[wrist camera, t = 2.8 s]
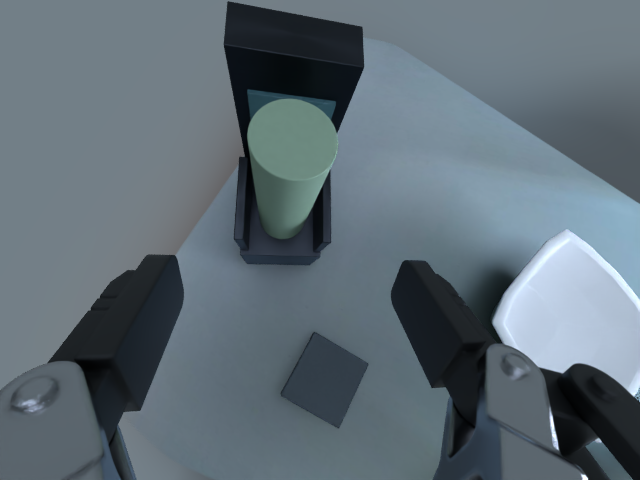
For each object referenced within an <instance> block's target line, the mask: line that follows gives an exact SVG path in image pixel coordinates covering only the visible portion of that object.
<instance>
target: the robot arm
mask: <svg viewBox="0 0 640 480" xmlns="http://www.w3.org/2000/svg"><path fill="white" fill-rule="evenodd" d="M458 295H459V294H458V293H457V292H456V291H455V289H454V288H453V287H452V285H451V284H450V283H449V282H447V281H446V280H445V279H444V278H442V277H441V276H440V275H438V274H435V272H434V271H433V270H432V268H431V267H430V266H429V264H428V263H427V262H426V261H419V260H405V261H403V262H402V264H401V266H400V269H399V272H398V274H397V277H396V279H395V282H394V285H393V287H392V290H391V301H392V305H393V307H394V309H395V311H396V313H397V316H398V318H399V320H400V322H401V324H402V326H403V328H404V330H405V332H406V335H407V337H408V339H409V341H410V343H411V345H412V347H413V349H414V351H415V354H416V356H417V358H418V360H419V362H420V364H421V366H422V368H423V370H424V373H425V375H426V377H427V379H428V381H429V383H430V385H431V387H432V388H440V387H446V388H447V390H448V392H449V394H450V397H449V399H448V404H447V411H446V419H445V427H444V434H443V442H442V450H441V457H440V462H439V466H438V468H437V471H436V473H435V475H434V477H433V480H610V478H609V477H608V476H607V475H606V473H605V472H604V471H603V469H602V468H601V467H600V465H599V464H598V463H597V461H596V460H595V459H594V457H593V456H592V455H591V453H590V452H589V451H588V450H587V448H586V447H585V446H586V445H588V444H590V443H591V442H593V441H595V440H596V439H598V438H599V439H600V440H601V441H602V442H603V443H604V445H605V446H606V447H607V448H608V450H609V451H610V452H611V453H612V455H613V456H614V457H615V458H616V459H617V461H618V462H619V463H620V464H621V466H622V467H623V468H624V469H625V470H626V472H627V473H628V474H629V475H630V477H631V478H632V479H633V480H640V402H639V401H638V400H637V399H636V398H634V397H633V396H632V395H631V394H630V393H629V392H628V391H627V390H626V389H625V388H624V387H623V386H622V385H621V384H620V383H619V382H617V381H616V380H615V379H613V378H612V377H611V376H609V375H608V374H606V373H604V372H603V371H601V370H599V369H597V368H595V367H593V366H590V365H587V364H582V363H575V364H573V365H572V366H571V367H569V368H568V369H567V370H566V371H565V372H564V373H559V372H556V371H552V370H548V369H544V368H540V367H538V366H537V365H536V364H535V363H534V362H533V361H532V360H531V359H530V358H529V357H528V356H526V355H525V354H524V353H522V352H521V351H519V350H517V349H515V348H513V347H511V346H508V345H505V344H497V343H496V341H495V340H494V339H493V338H492V336H491V335H490V334H489V333H488V331H487V330H486V329H485V327H484V326H483V325H482V324H481V322H480V321H479V320H478V319H477V317H476V316H475V315H474V313H473V312H472V311H471V310H470V308H469V307H468V306H466V303H465V302H464V301H463V299H462V298H461V297H459V296H458ZM183 300H184V289H183V284H182V279H181V275H180V270H179V265H178V261H177V258H176V256H175V255H147V256H146V257H145V258H144V259H143V261H142V262H141V264H140V265H139V266H138V268H137V269H136V270H127V271H126V272H124V273H123V274H122V275H120V276H119V277H117V278H116V279H114V280H113V281H111V282H110V284H109V285H108V286H107V287H106V289H105V290H104V292H103V293H102V294H101V295H100V299H97V300H96V301H95V303H94V304H93V305H92V307H91V310H90V311H88V312H87V313H86V314H85V316H84V317H83V318H82V319H81V321H80V322H79V324H78V325H77V326H76V327H75V328H74V330H73V331H72V332H71V334H70V335H69V336H68V337H67V339H66V340H65V341H64V342H63V344H62V345H61V346H60V348H59V349H58V350H57V351H56V353H55V354H54V355H53V357H52V358H51V359H50V360H49V362H48V363H47V364H44V365H41V366H39V367H36V368H33V369H31V370H29V371H27V372H25V373H23V374H22V375H20V376H18V377H17V378H15V379H14V380H13V381H11V382H10V383H8V384H7V385H6V386H5V387H4V388H2V389H1V390H0V480H137V479H136V476H135V473H134V470H133V467H132V464H131V461H130V458H129V455H128V451H127V448H126V445H125V442H124V439H123V436H122V433H121V430H120V428H119V426H118V423H119V421H120V419H121V416H122V414H123V412H129V411H140V410H141V407H142V405H143V403H144V400H145V398H146V395H147V393H148V390H149V388H150V385H151V383H152V380H153V378H154V375H155V373H156V370H157V368H158V365H159V363H160V360H161V358H162V355H163V353H164V351H165V348H166V346H167V343H168V341H169V338H170V336H171V333H172V331H173V328H174V326H175V323H176V321H177V318H178V316H179V313H180V311H181V308H182V305H183Z"/></svg>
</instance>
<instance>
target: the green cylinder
mask: <svg viewBox="0 0 640 480" xmlns="http://www.w3.org/2000/svg"><path fill="white" fill-rule="evenodd" d="M247 140H248V147H249V153H250V160H251V166H252V173H253V179H254V185H255V192H256V198H257V205H258V211H259V218H260V223H261V226H262V228H263V229H264V231H265V232H266V233H267V234H269V235H270V236H272V237H274V238H277V239H288V238H292V237H294V236H295V235H297V234H298V233H299V232H300V231H301V229H302V228H303V226H304V224H305V221H306V219H307V217H308V215H309V213H310V211H311V209H312V207H313V204H314V202H315V200H316V198H317V196H318V194H319V192H320V190H321V188H322V185H323V183H324V181H325V179H326V177H327V175H328V173H329V171H330V168H331V166H332V164H333V162H334V160H335V158H336V155H337V151H338V137H337V133H336V130H335V127H334V125H333V124H332V122H331V120H330V119H329V118H328V117H327V115H326V114H325V113H324V112H323V111H321V110H320V109H319V108H317V107H316V106H314V105H312V104H310V103H308V102H305V101H302V100H297V99H280V100H276V101H272V102H270V103H268V104H266V105H264V106H263V107H262V108H260V109H259V110H258V111H257V112H256V113H255V115H254V116H253V118H252V119H251V122H250V124H249V127H248V133H247Z"/></svg>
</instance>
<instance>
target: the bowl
mask: <svg viewBox="0 0 640 480" xmlns="http://www.w3.org/2000/svg"><path fill="white" fill-rule="evenodd" d="M490 321H491V323H492V325H493V327H494V328H495V330H496V332H497V334H498V335H499V337H500V339H501V341H502V342H503V344H505V345H508V346H511V347H513V348H515V349H517V350H519V351H521V352H522V353H524V354H525V355H526V356H528V357H529V358H530V359H531V360H532V361H533V362H534V363H535V364H536V365H537V366H538V367H540V368H544V369H548V370H552V371H556V372H559V373H564V372H565V371H566V370H567V369H568V368H569V367H571V366H572V365H573V364H575V363H582V364H587V365H590V366H593V367H595V368H597V369H599V370H601V371H603V372H604V373H606V374H608V375H609V376H611V377H612V378H613V379H615V380H616V381H617V382H619V383H620V384H621V385H622V386H623V387H624V388H625V389H626V390H627V391H628V392H629V393H630V394H631V395H632V396H633V397H634V396H635V395H636V393H637V391H638V389H639V387H640V300H639V298H638V297H637V296H636V295H635V293H634V292H633V291H632V290H631V288H630V287H629V286H628V285H627V283H626V282H625V281H624V280H623V278H622V277H621V276H620V274H619V273H618V272H617V271H616V270H615V269H614V268H613V267H612V266H611V265H610V264H609V263H608V262H607V261H605V260H604V259H603V258H602V257H601V256H600V255H599V254H598V253H597V252H596V251H595V250H594V249H593V248H592V247H591V246H590V245H588V244H587V243H586V242H584V241H583V240H582V239H580V238H579V237H578V236H576V235H575V234H574V233H572V232H571V231H570V230H568V229H566V230H563V231H562V232H560V233H559V234H557V235H556V236H554V237H552V238H551V239H549V240H548V241H546V242H545V243H544V244H543V246H542V247H541V248H540V249H539V250H538V252H537V253H536V254H535V255H534V256H533V257H532V259H531V260H530V261H529V262H528V263H527V265H526V266H525V267H524V268H523V269H522V271H521V272H520V273H519V275H518V276H517V277H516V278H515V280H514V281H513V282H512V283H511V285H510V286H509V287H508V289H507V290H506V291H505V292H504V294H503V296H502V298H501V300H500V301H499V302H498V304H497V305H496V306H495V308H494V310H493V312H492V314H491V317H490ZM595 442H597V443H600V442H601V440H600V439H599V438H598V439H596V440H595Z"/></svg>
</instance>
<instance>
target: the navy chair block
mask: <svg viewBox="0 0 640 480" xmlns="http://www.w3.org/2000/svg"><path fill="white" fill-rule="evenodd" d="M224 48H225V54H226V59H227V64H228V70H229V75H230V80H231V86H232V91H233V96H234V101H235V106H236V112H237V117H238V122H239V127H240V133H241V137H242V143H243V148H244V154H245V157H239V170H238V185H237V200H236V214H235V229H234V240H235V241H236V243H237V244H238V246H239V247H240V255H241V256H242V258H243V259H244V260H245V261H246V263H247V264H280V265H310V264H311V263H313V262H314V261H315V260H317V259H318V258H319V257H320V256H321V251H322V250H323V249H324V248H325V247H326V246H327V245H329V244H330V243H331V186H330V171H329V173H328V175H327V177H326V179H325V181H324V183H323V185H322V188H321V190H320V192H319V194H318V196H317V198H316V200H315V202H314V204H313V207H312V209H311V211H310V213H309V215H308V217H307V219H306V221H305V224H304V226H303V228H302V229H301V231H300V232H299V233H298V234H297V235H295V236H294V237H292V238H288V239H277V238H274V237H272V236H270V235H269V234H267V233H266V232H265V231H264V229H263V228H262V226H261V223H260V218H259V211H258V205H257V198H256V192H255V185H254V179H253V173H252V166H251V160H250V153H249V147H248V140H247V133H248V127H249V124H250V122H251V119H252V118H253V116H254V115H255V113H256V112H257V111H258V110H259V109H260V108H262V107H263V106H264V105H266V104H268V103H270V102H272V101H276V100H280V99H297V100H302V101H305V102H308V103H310V104H312V105H314V106H316V107H317V108H319V109H320V110H321V111H323V112H324V113H325V114H326V115H327V117H328V118H329V119H330V120H331V122H332V124H333V125H334V127H335V130H336V133H337V132H338V130H339V127H340V125H341V123H342V120H343V118H344V115H345V113H346V110H347V108H348V105H349V103H350V101H351V98H352V96H353V93H354V91H355V88H356V86H357V83H358V81H359V79H360V76H361V74H362V71H363V69H364V53H363V29H362V27H360V26H355V25H349V24H345V23H339V22H334V21H329V20H323V19H318V18H313V17H307V16H303V15H297V14H292V13H287V12H282V11H276V10H271V9H266V8H261V7H255V6H250V5H244V4H239V3H234V2H229V1H228V2H227V13H226V25H225V36H224Z"/></svg>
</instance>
